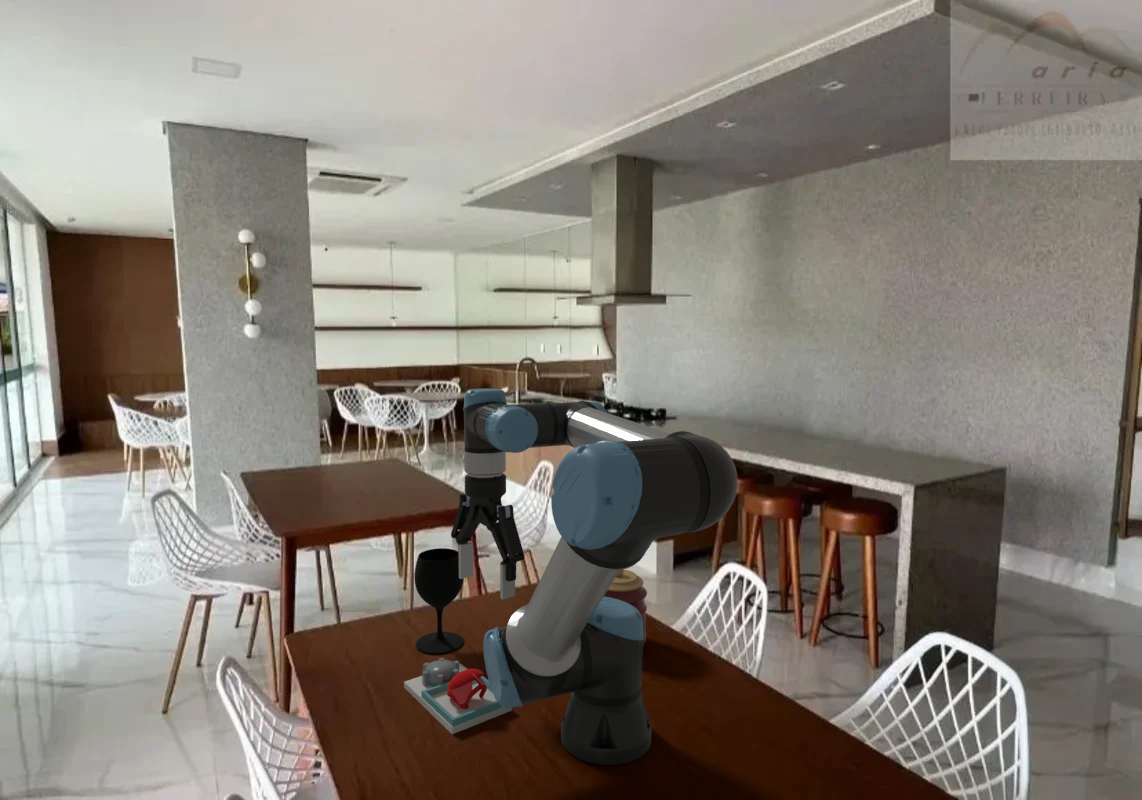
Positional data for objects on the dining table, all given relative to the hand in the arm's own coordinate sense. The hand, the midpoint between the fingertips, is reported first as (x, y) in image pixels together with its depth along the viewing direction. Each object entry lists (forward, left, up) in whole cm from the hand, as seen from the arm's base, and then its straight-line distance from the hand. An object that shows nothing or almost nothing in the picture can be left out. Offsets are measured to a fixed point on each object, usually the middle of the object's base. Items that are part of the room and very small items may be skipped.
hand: (486, 586), depth 124 cm
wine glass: (+24, -3, -21) cm, 32 cm away
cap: (-2, +5, -20) cm, 21 cm away
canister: (+1, -34, -21) cm, 40 cm away
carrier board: (+2, +5, -21) cm, 21 cm away
